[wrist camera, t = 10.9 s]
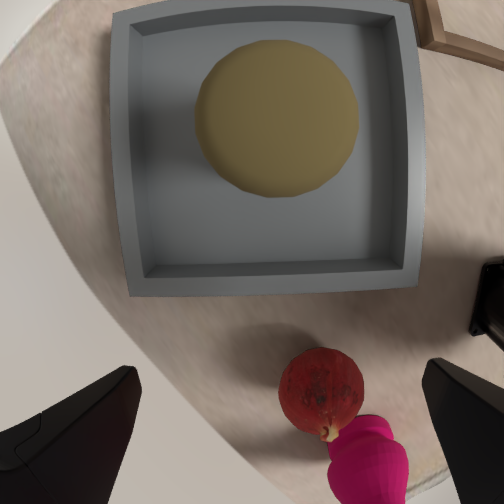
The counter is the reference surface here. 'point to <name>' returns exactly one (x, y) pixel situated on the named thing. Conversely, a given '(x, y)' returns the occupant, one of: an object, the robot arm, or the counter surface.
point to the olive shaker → (276, 118)
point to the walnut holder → (452, 38)
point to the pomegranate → (321, 392)
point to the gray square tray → (247, 204)
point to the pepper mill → (367, 463)
